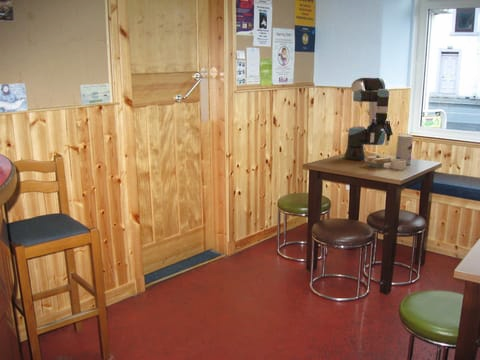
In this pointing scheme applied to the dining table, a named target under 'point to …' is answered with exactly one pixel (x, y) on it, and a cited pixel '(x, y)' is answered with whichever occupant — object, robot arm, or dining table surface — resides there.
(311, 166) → the dining table surface
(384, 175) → the dining table surface
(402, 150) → the container
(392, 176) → the dining table surface
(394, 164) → the bowl
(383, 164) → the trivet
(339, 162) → the dining table surface
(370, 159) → the lid
